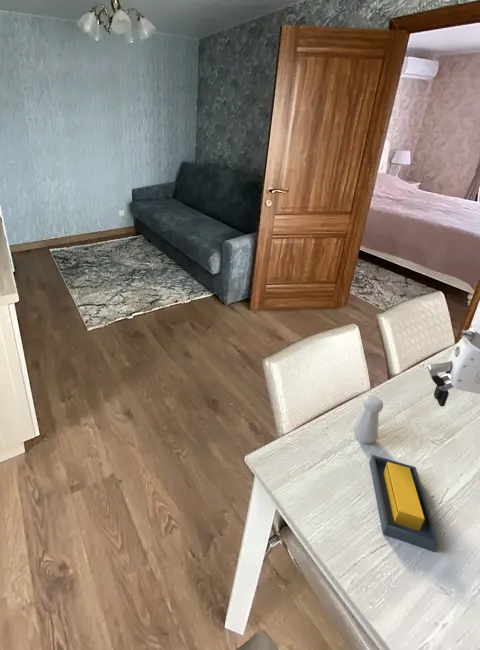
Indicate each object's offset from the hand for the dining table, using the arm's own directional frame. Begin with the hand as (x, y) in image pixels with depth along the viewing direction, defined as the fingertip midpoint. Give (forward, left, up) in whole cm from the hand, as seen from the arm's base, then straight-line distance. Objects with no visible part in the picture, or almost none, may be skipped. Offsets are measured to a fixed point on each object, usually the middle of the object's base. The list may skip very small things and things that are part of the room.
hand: (466, 406), depth 72 cm
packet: (+10, +9, -21) cm, 25 cm away
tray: (+10, +9, -22) cm, 26 cm away
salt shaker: (+15, -6, -22) cm, 27 cm away
